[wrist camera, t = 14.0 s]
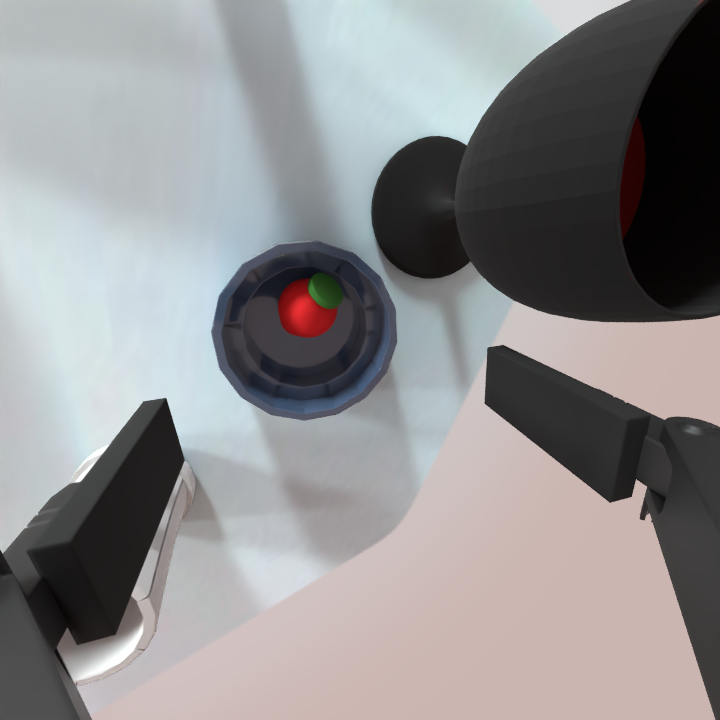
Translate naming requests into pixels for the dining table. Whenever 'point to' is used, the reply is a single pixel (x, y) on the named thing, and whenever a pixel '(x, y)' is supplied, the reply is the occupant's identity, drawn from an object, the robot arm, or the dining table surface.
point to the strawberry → (310, 305)
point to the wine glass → (581, 175)
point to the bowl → (299, 354)
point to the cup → (146, 596)
